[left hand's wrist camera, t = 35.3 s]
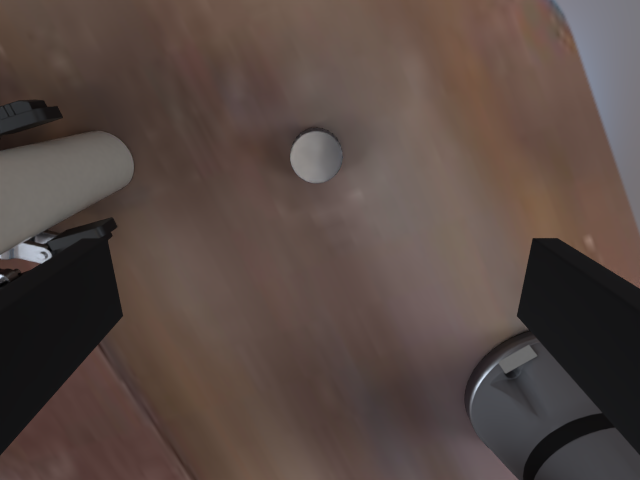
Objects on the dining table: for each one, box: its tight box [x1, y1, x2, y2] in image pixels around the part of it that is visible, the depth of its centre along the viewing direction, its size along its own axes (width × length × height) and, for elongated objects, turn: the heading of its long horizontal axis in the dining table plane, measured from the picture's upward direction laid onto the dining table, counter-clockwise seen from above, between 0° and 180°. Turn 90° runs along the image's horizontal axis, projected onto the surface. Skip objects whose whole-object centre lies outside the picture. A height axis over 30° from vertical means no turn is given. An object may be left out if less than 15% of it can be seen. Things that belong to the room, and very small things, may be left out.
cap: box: [290, 127, 343, 183], centre depth 30 cm, size 4×4×2 cm
